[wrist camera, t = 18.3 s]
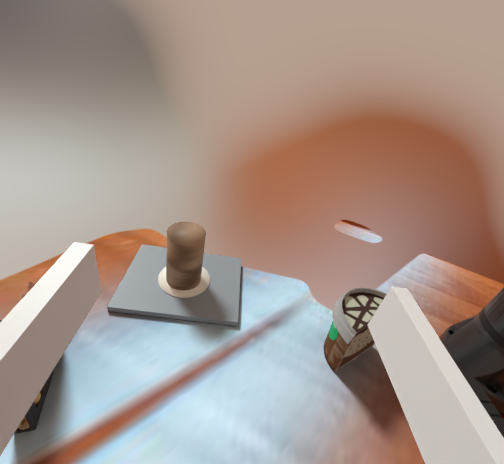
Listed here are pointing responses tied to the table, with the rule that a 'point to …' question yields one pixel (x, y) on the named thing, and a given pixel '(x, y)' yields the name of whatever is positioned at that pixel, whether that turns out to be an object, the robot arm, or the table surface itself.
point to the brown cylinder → (184, 255)
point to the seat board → (180, 301)
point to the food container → (351, 326)
